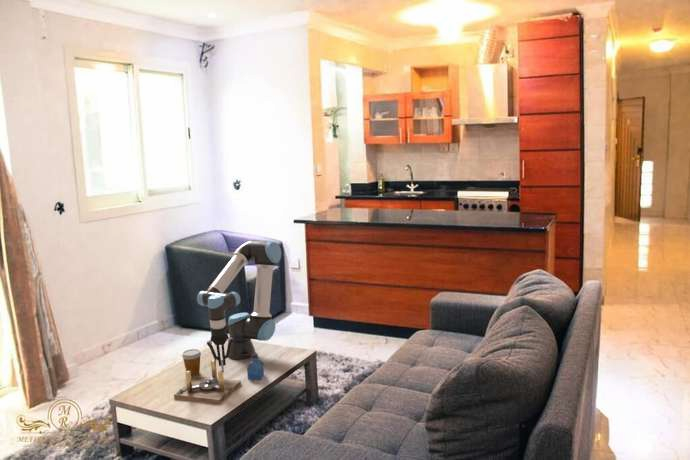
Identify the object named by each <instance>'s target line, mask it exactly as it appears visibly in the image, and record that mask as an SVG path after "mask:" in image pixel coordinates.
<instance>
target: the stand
mask: <svg viewBox="0 0 690 460" xmlns="http://www.w3.org/2000/svg"><path fill="white" fill-rule="evenodd" d="M211 377H212V376H211ZM211 377H209V376H201V375H200V376H199V375H197V376H195V378H193V379H192V386H196V385H199V383H200V382H202V381H204V380H208V379H211ZM216 380H217V381H218V377H217V379H216ZM241 385H242V381H241V380H237V379H228V378H224V392H219V391H218V390H215V389H214V390H211V391H202V390H200V389H198V390H194V391H192V392H187V384H185V385H184V386H183V387H182V388H179V390H177V391H176V392H175V393H174V394H173V399H176V400H183V401H190V402H191V401H192V402H200V403H209V404H214V405H220V404H221V403H223V402H224V401H225V400H226V399H227V398H228V397H229V396H230V395H231V394H232V393H234V391H236V390H237V389H238V388H239V387H240V386H241ZM218 386H219V381H218Z"/></svg>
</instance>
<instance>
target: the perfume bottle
mask: <svg viewBox="0 0 690 460" xmlns="http://www.w3.org/2000/svg"><path fill="white" fill-rule="evenodd" d="M250 358H251V361H250V362H249V364H248V366H247V368H246V369H247V379H248V380H251V381H260V380H262V379H263V377H264V376H265V371H264V362H262V360H261V359H259V355H258V353H255V354H252V356H251V357H250Z"/></svg>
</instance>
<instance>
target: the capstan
mask: <svg viewBox="0 0 690 460" xmlns="http://www.w3.org/2000/svg"><path fill="white" fill-rule="evenodd" d="M217 369H218V368H217V360H215V359H210V370H211V379H208V380H204V381H202V382H200V383H199V385H196V386H192V380H193V379H192V377H191V371H186V370H185V382H186V385H187V392H192V391H194V390H198V389H200V390H202V391H211V390H214V389H215V390H218V391H219V392H224V379H225V377H224V373H223V371H222V370H219V371H217ZM217 378H218V381H219V386H218V381H217V380H216V379H217Z"/></svg>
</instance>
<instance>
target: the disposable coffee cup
mask: <svg viewBox="0 0 690 460" xmlns="http://www.w3.org/2000/svg"><path fill="white" fill-rule="evenodd" d="M201 356H202V353H201V350H199V349H197V348H194V349H193V348H192V349H187V350H184V351H183V352H182V355H181V358H182V359H183V364H184V368H185V372H186V371H191V378H192V377H193V378H194V377H198V376H199V375H200V374H201V373H200V372H201V371H200V369H201Z"/></svg>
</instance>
